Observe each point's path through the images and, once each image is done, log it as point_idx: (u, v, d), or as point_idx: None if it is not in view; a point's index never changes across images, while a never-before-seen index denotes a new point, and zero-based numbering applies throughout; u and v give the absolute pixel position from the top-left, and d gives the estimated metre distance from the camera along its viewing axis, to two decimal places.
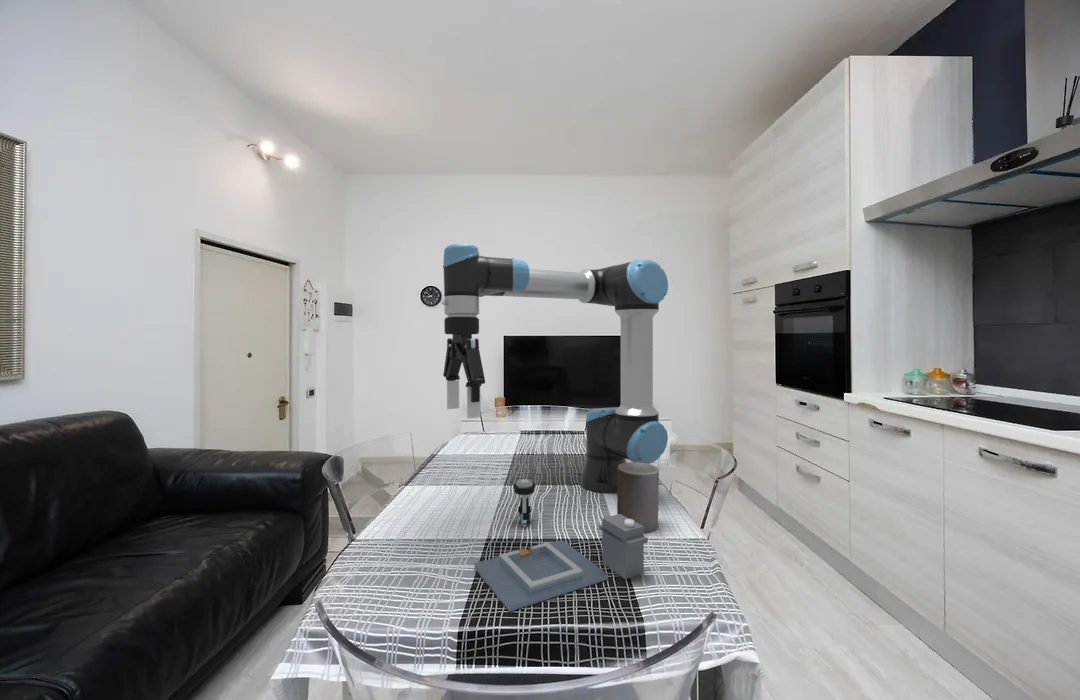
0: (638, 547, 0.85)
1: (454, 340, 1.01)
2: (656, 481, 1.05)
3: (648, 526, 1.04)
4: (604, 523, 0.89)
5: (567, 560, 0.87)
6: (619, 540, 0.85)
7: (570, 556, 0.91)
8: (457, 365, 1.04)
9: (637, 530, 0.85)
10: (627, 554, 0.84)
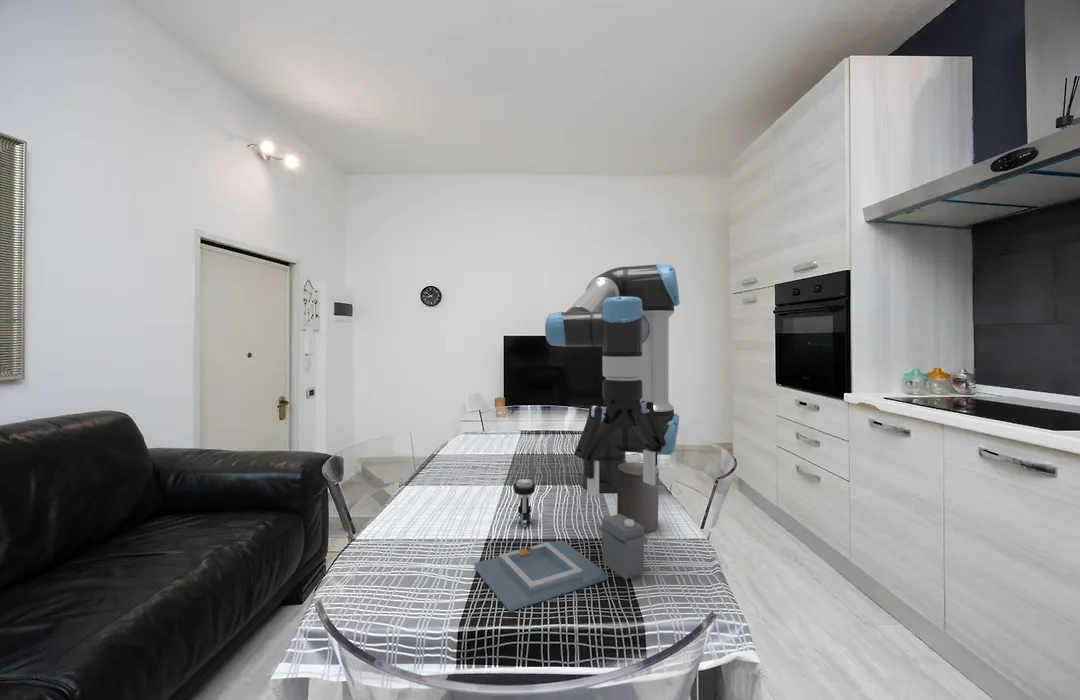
0: (638, 547, 0.85)
1: None
2: (656, 481, 1.05)
3: (648, 526, 1.04)
4: (604, 523, 0.89)
5: (567, 560, 0.87)
6: (619, 540, 0.85)
7: (570, 556, 0.91)
8: (640, 433, 0.89)
9: (637, 530, 0.85)
10: (628, 554, 0.84)
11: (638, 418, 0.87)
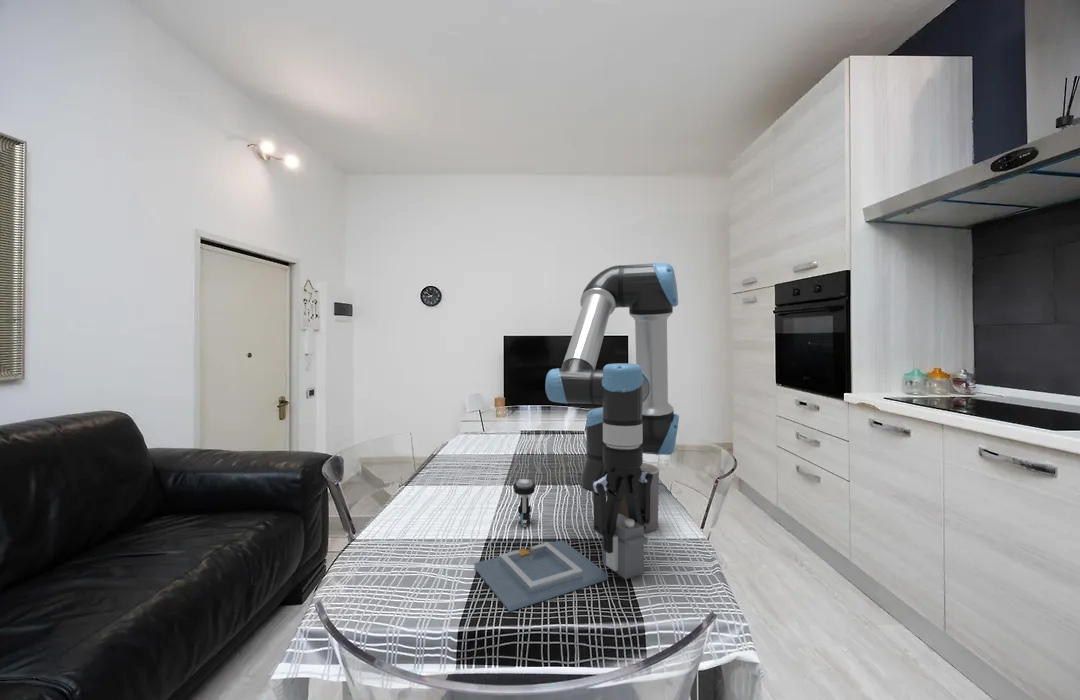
0: (638, 547, 0.85)
1: None
2: (656, 481, 1.05)
3: (648, 526, 1.04)
4: None
5: (567, 560, 0.87)
6: (619, 540, 0.85)
7: (570, 556, 0.91)
8: (631, 504, 0.88)
9: (637, 530, 0.85)
10: (628, 554, 0.84)
11: (635, 487, 0.87)
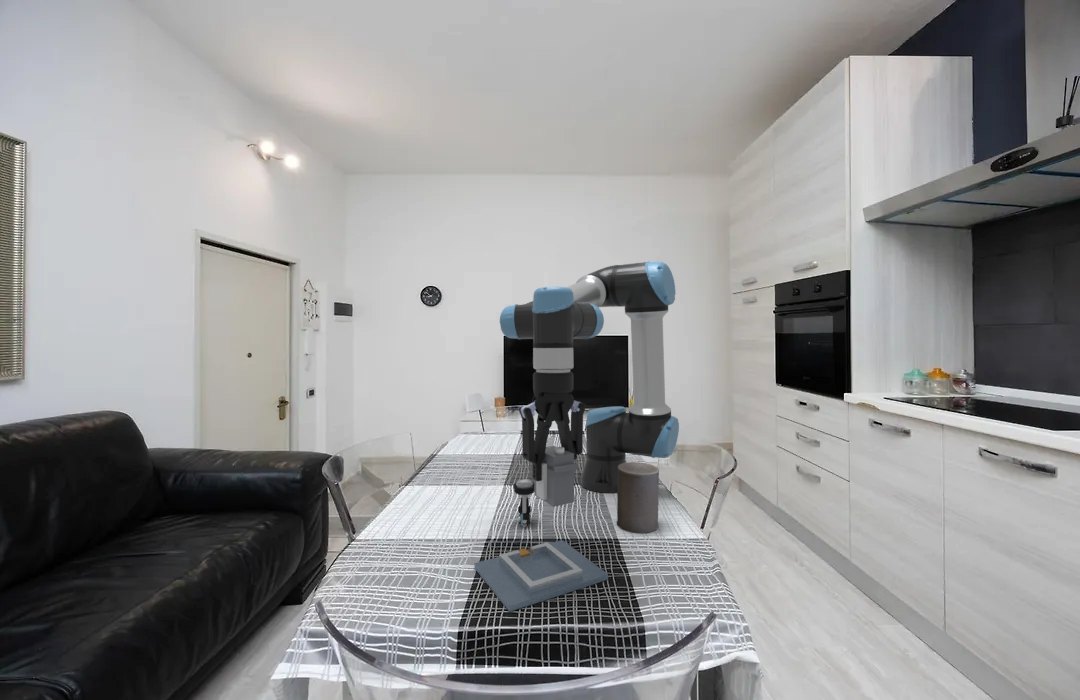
0: (568, 474, 0.83)
1: None
2: (656, 481, 1.05)
3: (648, 526, 1.04)
4: None
5: (567, 560, 0.87)
6: (548, 467, 0.83)
7: (570, 556, 0.91)
8: (562, 433, 0.86)
9: (567, 456, 0.83)
10: (556, 480, 0.82)
11: (566, 414, 0.85)
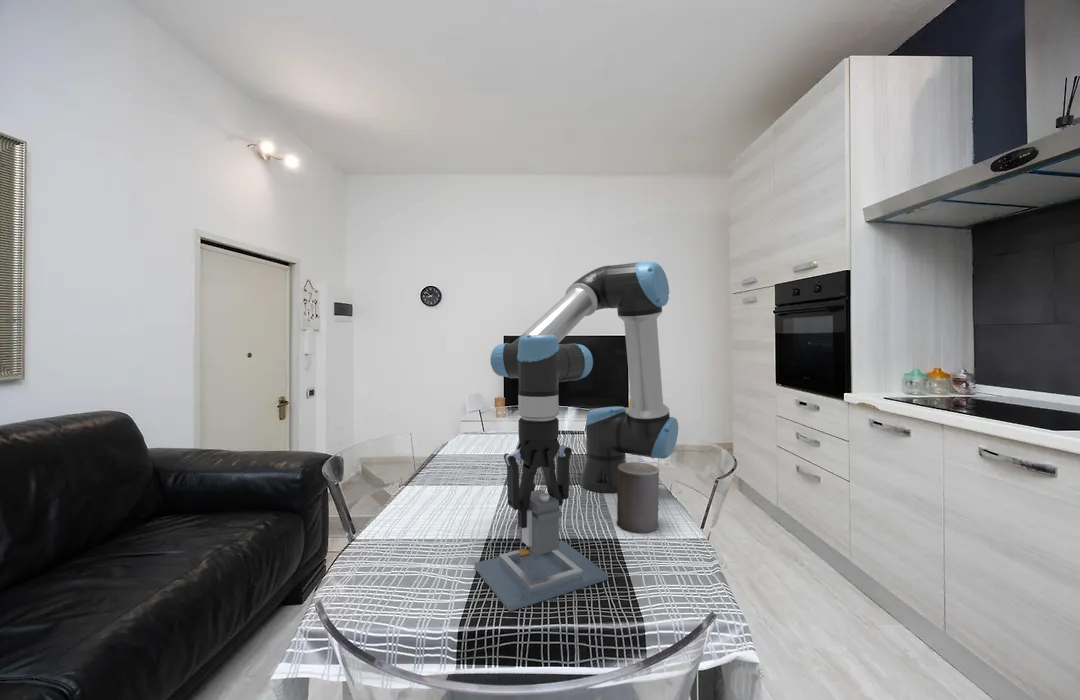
0: (552, 522, 0.83)
1: None
2: (656, 481, 1.05)
3: (648, 526, 1.04)
4: None
5: (567, 560, 0.87)
6: (533, 515, 0.83)
7: (570, 556, 0.91)
8: (548, 478, 0.86)
9: (551, 504, 0.83)
10: (540, 528, 0.82)
11: (551, 460, 0.85)
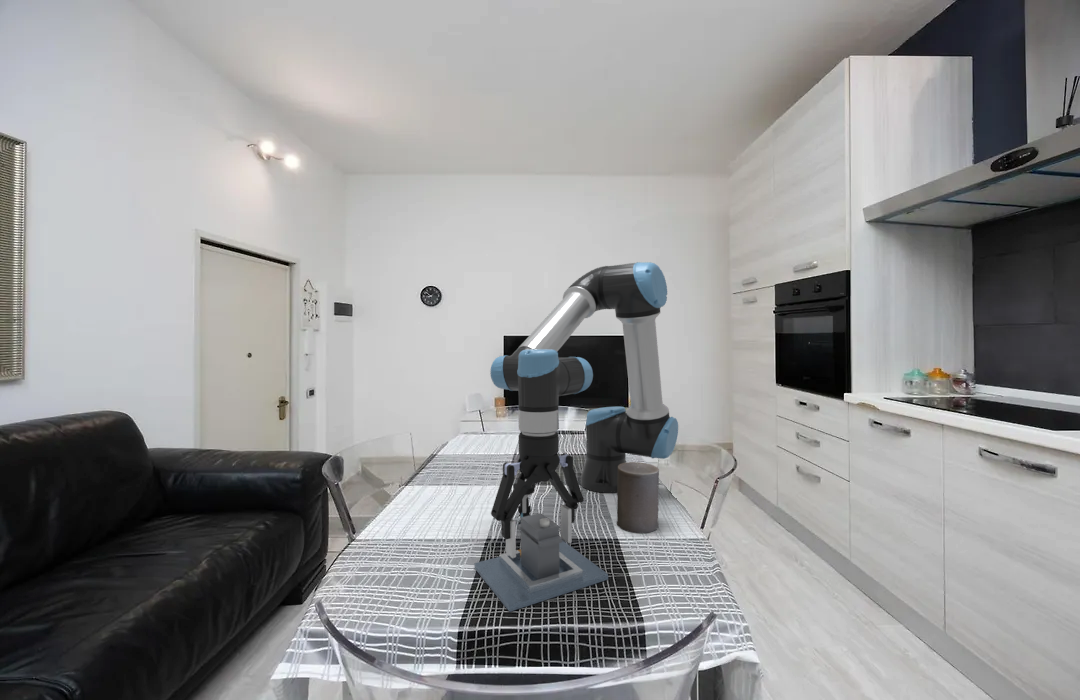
0: (553, 547, 0.83)
1: None
2: (656, 481, 1.05)
3: (648, 526, 1.04)
4: (522, 522, 0.87)
5: (567, 560, 0.87)
6: (533, 540, 0.83)
7: (570, 556, 0.91)
8: (557, 488, 0.87)
9: (551, 529, 0.83)
10: (541, 554, 0.82)
11: (554, 473, 0.85)
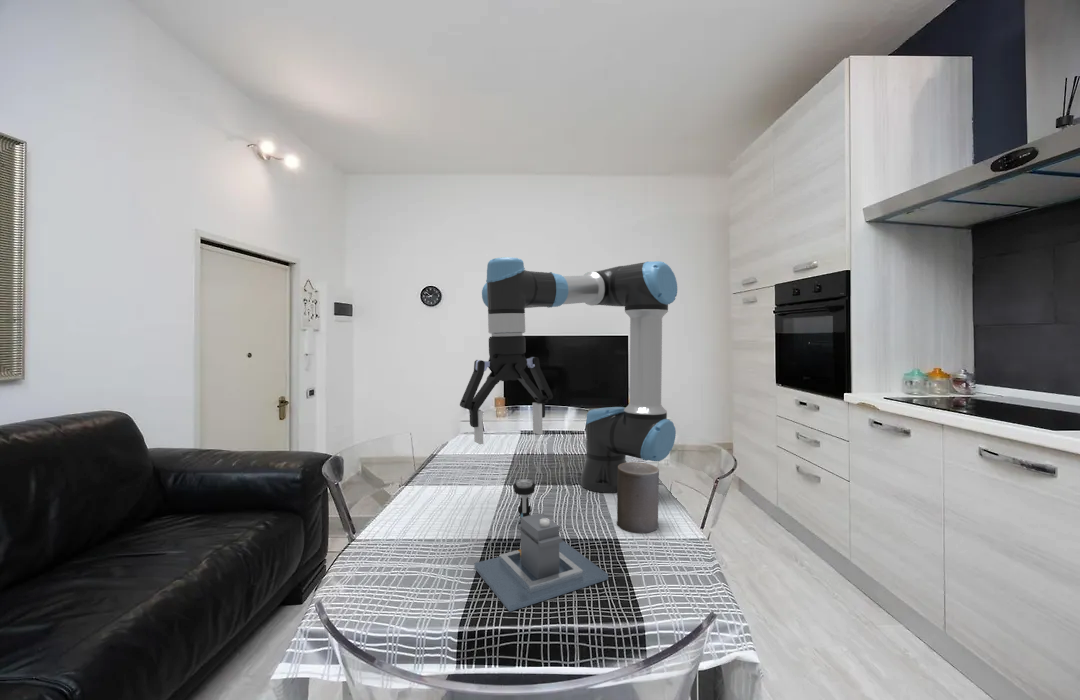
0: (553, 547, 0.83)
1: None
2: (656, 481, 1.05)
3: (648, 526, 1.04)
4: (522, 522, 0.87)
5: (567, 560, 0.87)
6: (533, 540, 0.83)
7: (570, 556, 0.91)
8: (527, 386, 0.96)
9: (551, 529, 0.83)
10: (541, 554, 0.82)
11: (522, 372, 0.93)
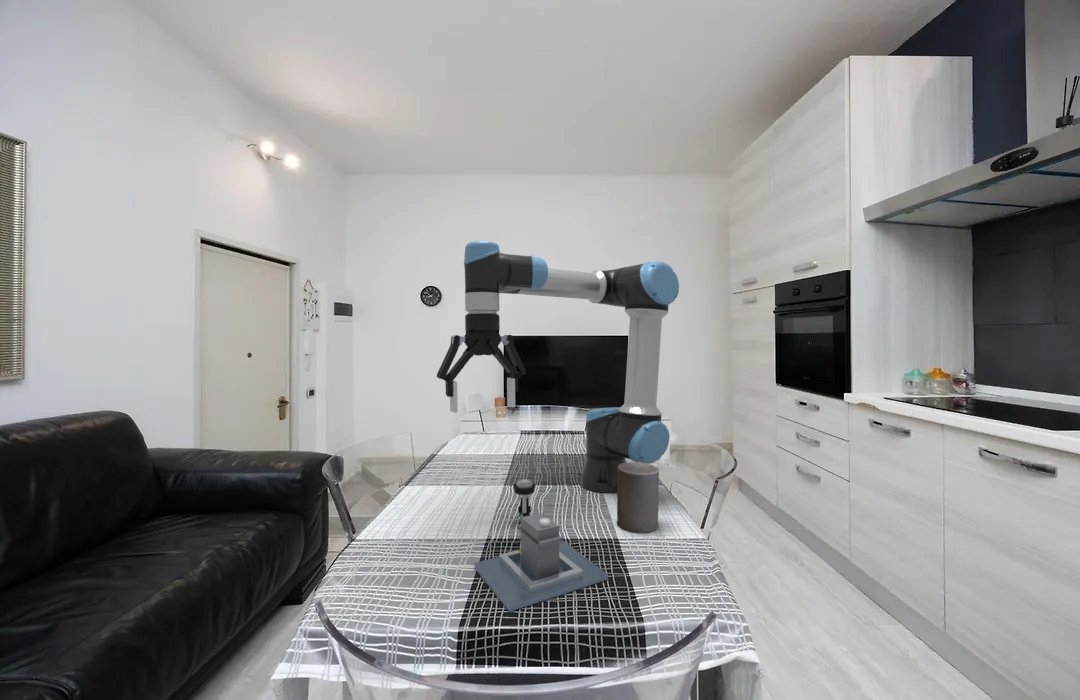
0: (553, 547, 0.83)
1: None
2: (656, 481, 1.05)
3: (648, 526, 1.04)
4: (522, 522, 0.87)
5: (567, 560, 0.87)
6: (533, 540, 0.83)
7: (570, 556, 0.91)
8: (501, 362, 1.03)
9: (551, 529, 0.83)
10: (541, 554, 0.82)
11: (496, 347, 1.01)
